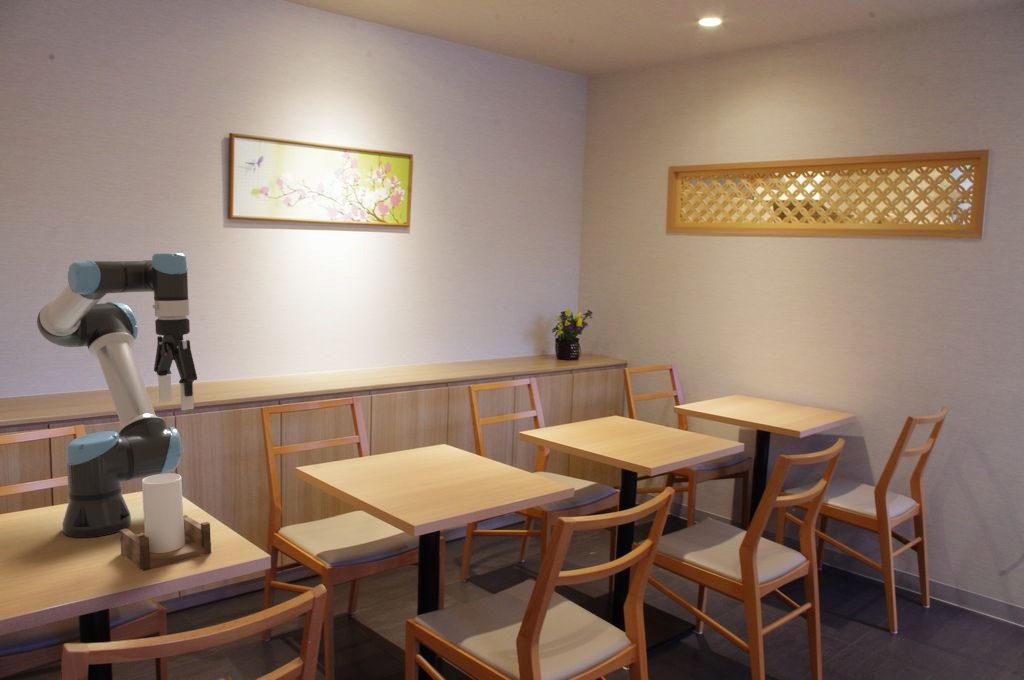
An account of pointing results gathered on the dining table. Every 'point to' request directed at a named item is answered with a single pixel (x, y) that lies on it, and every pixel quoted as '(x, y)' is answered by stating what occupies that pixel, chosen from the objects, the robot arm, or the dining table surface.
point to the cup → (163, 512)
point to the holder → (145, 560)
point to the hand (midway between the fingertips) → (176, 405)
